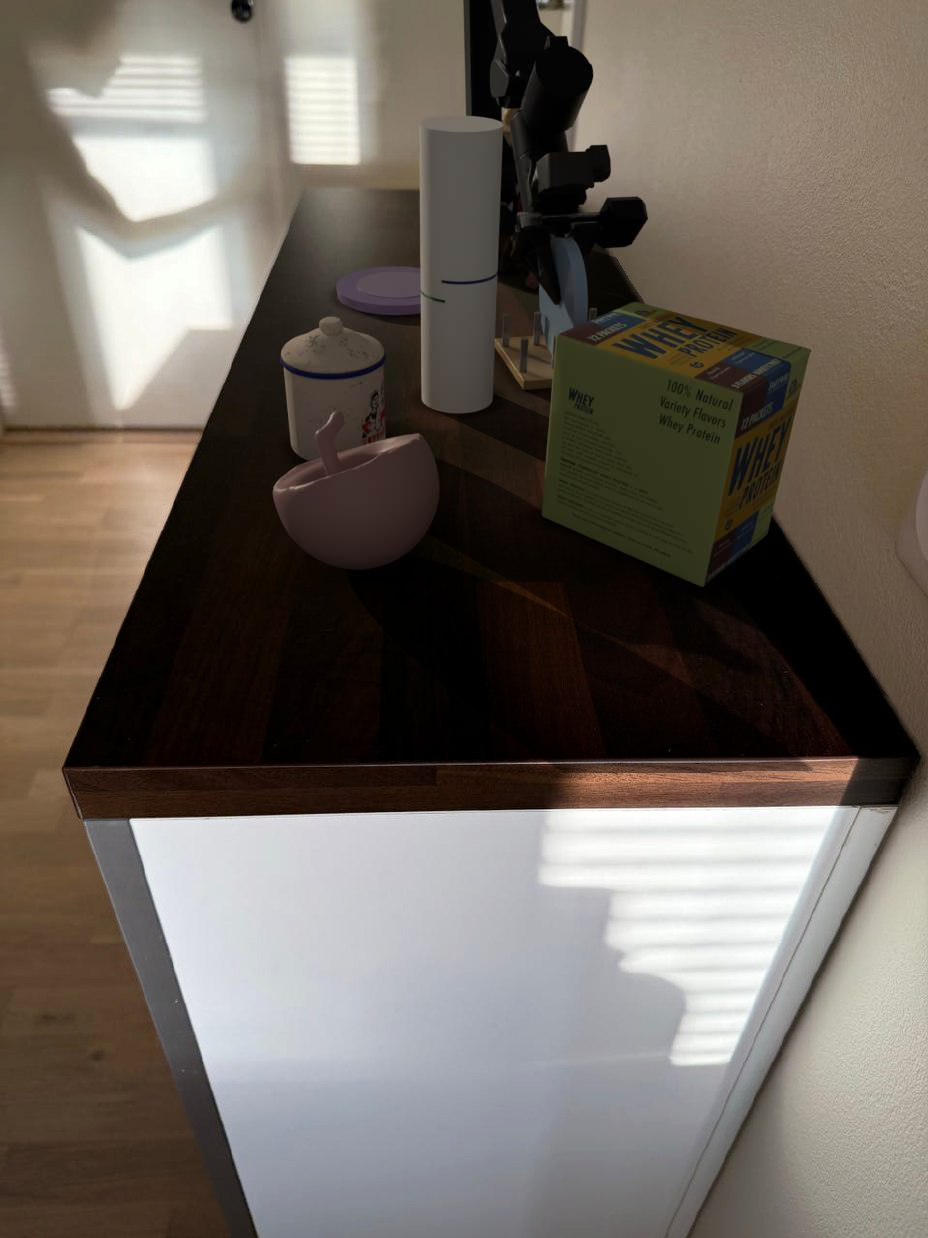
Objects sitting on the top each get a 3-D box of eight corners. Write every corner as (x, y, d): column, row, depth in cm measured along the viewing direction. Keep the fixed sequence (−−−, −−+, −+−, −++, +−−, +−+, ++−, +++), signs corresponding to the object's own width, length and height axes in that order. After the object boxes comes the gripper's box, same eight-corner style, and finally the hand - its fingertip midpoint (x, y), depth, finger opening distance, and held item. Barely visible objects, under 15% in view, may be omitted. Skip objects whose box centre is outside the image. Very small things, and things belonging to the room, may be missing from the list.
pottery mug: (559, 268, 134) (581, 221, 127) (555, 320, 130) (578, 275, 123) (475, 244, 132) (492, 195, 125) (468, 296, 127) (486, 249, 120)
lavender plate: (354, 271, 130) (354, 261, 129) (465, 279, 128) (466, 269, 127) (321, 309, 118) (321, 299, 117) (444, 319, 116) (444, 308, 115)
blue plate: (535, 334, 110) (543, 223, 103) (547, 333, 110) (555, 222, 103) (568, 377, 101) (579, 257, 93) (581, 376, 101) (593, 256, 94)
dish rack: (494, 346, 110) (495, 306, 107) (587, 340, 112) (591, 300, 109) (523, 390, 100) (525, 347, 98) (624, 382, 102) (629, 340, 100)
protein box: (705, 590, 72) (745, 392, 63) (538, 517, 80) (552, 332, 71) (770, 534, 78) (816, 347, 69) (610, 472, 86) (631, 296, 77)
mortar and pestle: (359, 500, 82) (352, 369, 75) (471, 551, 76) (474, 414, 69) (248, 560, 74) (229, 421, 67) (362, 622, 68) (354, 476, 61)
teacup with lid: (385, 469, 86) (381, 340, 79) (282, 467, 86) (268, 338, 79) (392, 410, 96) (389, 291, 89) (299, 409, 96) (289, 289, 89)
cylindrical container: (485, 416, 95) (495, 134, 80) (414, 409, 96) (410, 128, 81) (498, 387, 101) (509, 118, 86) (430, 380, 102) (429, 113, 87)
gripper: (469, 114, 93) (494, 268, 91) (654, 109, 96) (681, 258, 95) (450, 182, 104) (472, 321, 102) (617, 176, 107) (641, 310, 105)
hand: (566, 302), depth 101 cm, fingers closed on blue plate, 1 cm apart
